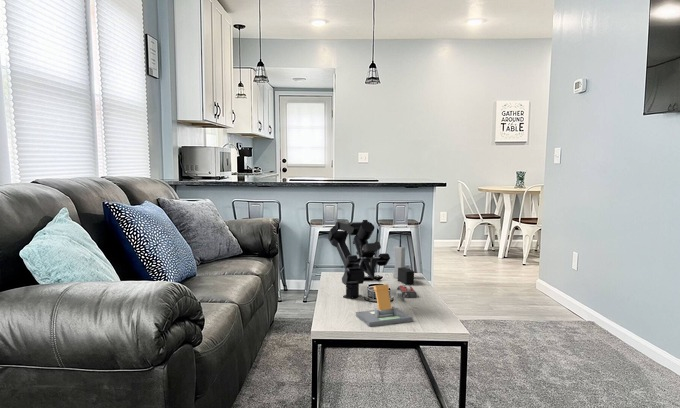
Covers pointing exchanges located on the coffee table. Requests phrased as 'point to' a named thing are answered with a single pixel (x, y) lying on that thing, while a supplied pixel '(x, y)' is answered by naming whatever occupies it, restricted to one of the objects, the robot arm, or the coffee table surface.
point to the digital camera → (406, 276)
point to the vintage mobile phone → (399, 258)
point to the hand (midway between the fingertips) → (373, 277)
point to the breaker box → (383, 317)
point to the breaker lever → (383, 299)
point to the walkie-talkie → (405, 292)
